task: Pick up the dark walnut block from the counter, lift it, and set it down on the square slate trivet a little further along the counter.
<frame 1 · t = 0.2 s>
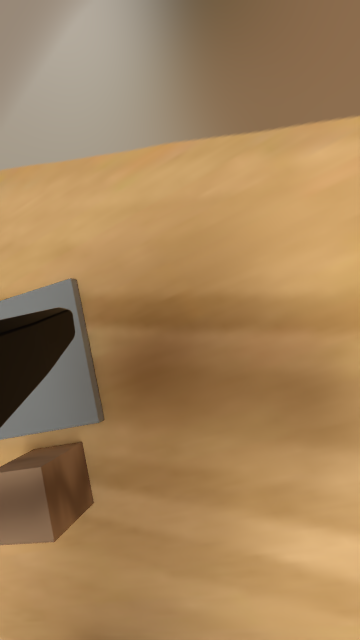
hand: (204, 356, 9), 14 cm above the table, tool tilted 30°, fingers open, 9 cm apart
walnut block: (63, 474, 27), on the table
slate trivet: (32, 362, 28), on the table
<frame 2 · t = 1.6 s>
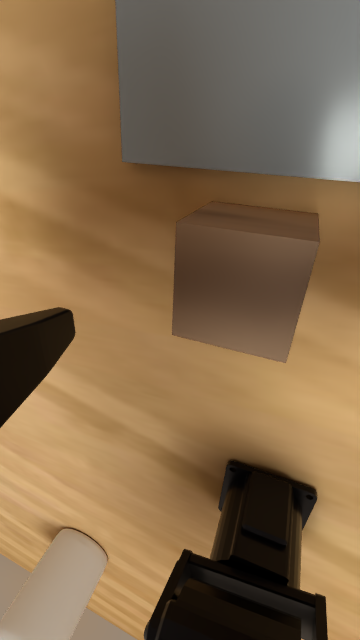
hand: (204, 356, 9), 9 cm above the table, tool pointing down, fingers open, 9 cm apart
walnut block: (254, 257, 16), on the table
pill bottle: (85, 543, 43), on the table
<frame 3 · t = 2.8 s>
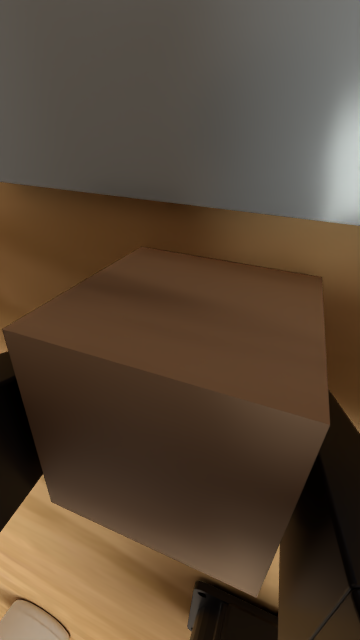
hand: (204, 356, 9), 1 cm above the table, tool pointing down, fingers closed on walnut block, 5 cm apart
walnut block: (214, 337, 10), on the table, touching gripper
pill bottle: (44, 615, 37), on the table
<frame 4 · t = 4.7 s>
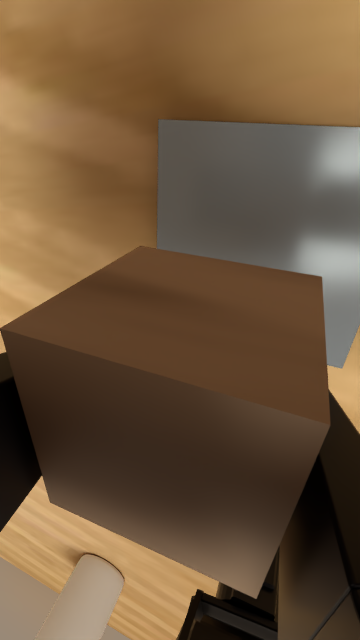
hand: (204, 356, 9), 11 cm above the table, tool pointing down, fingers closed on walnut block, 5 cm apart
walnut block: (214, 337, 10), point 10 cm above the table, touching gripper
slate trivet: (259, 249, 18), on the table
pill bottle: (104, 566, 49), on the table
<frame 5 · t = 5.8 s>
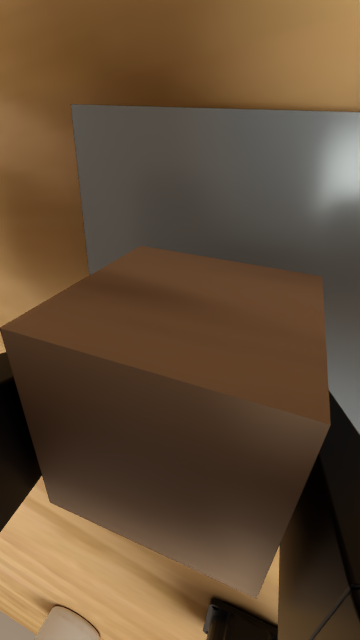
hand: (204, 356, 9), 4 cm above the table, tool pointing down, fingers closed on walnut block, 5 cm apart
walnut block: (214, 336, 10), point 3 cm above the table, touching gripper
slate trivet: (233, 297, 12), on the table
pill bottle: (77, 619, 44), on the table
when the fingers open (3 cm above the table, at t = 6.4 s): walnut block drops 1 cm, resting on slate trivet.
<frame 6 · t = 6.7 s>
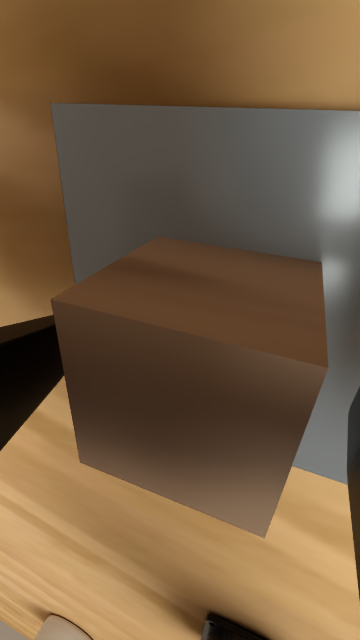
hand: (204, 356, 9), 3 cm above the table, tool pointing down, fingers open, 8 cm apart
walnut block: (223, 319, 11), point 1 cm above the table, touching slate trivet
slate trivet: (228, 309, 11), on the table
pill bottle: (73, 628, 43), on the table
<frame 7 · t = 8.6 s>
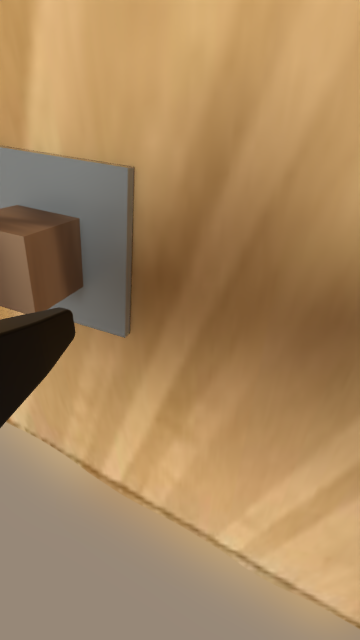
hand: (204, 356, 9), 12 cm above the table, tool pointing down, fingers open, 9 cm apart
walnut block: (51, 247, 22), point 1 cm above the table, touching slate trivet
slate trivet: (58, 244, 23), on the table
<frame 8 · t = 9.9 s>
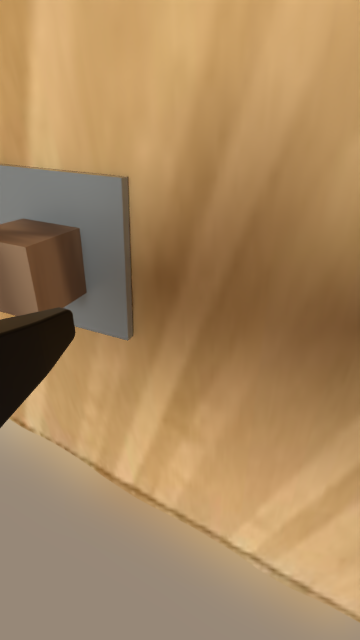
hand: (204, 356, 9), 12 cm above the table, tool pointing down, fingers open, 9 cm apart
walnut block: (55, 256, 24), point 1 cm above the table, touching slate trivet
slate trivet: (62, 253, 24), on the table
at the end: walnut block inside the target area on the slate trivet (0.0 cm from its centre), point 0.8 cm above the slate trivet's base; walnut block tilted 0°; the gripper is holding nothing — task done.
